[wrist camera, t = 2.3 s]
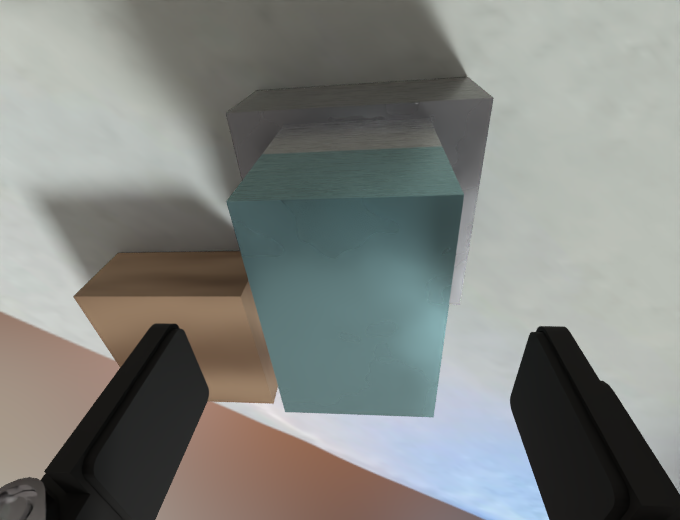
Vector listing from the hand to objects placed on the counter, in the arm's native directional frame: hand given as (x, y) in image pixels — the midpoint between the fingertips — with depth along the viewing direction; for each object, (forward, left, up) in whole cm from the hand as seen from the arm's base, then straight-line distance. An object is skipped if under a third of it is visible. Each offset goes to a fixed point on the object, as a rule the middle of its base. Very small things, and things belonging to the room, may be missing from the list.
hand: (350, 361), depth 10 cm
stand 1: (+8, -10, -10) cm, 17 cm away
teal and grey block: (-1, 0, -6) cm, 6 cm away
